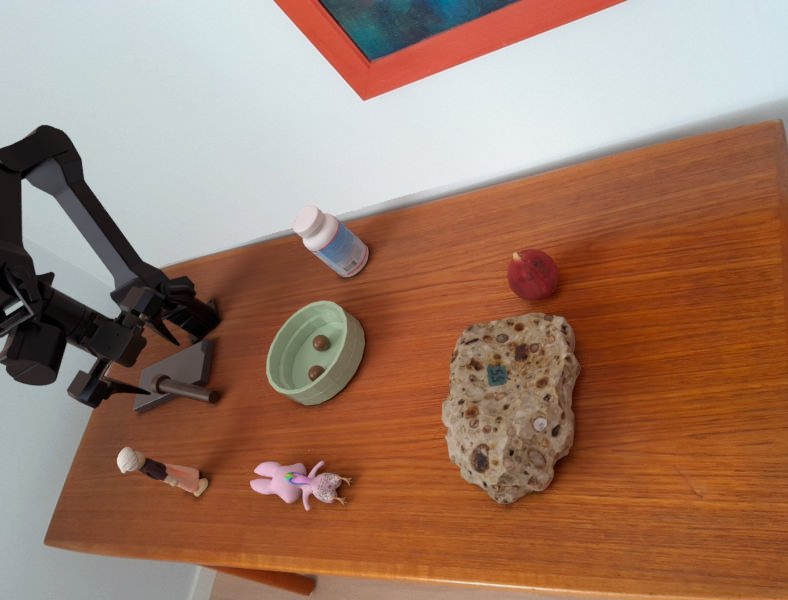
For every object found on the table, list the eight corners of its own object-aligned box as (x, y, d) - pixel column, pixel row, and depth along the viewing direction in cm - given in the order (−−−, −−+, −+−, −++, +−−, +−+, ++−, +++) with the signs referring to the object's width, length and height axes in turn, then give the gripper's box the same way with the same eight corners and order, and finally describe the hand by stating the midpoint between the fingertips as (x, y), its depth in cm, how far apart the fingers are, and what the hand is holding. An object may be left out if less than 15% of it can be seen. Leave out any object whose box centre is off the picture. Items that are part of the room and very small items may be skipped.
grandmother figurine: (217, 474, 94) (141, 444, 85) (205, 501, 93) (127, 473, 84) (186, 467, 99) (111, 437, 90) (174, 492, 98) (97, 465, 88)
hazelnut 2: (308, 369, 92) (305, 364, 90) (325, 366, 92) (323, 361, 90) (310, 386, 91) (307, 381, 89) (328, 383, 91) (325, 378, 89)
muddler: (147, 389, 106) (202, 403, 100) (155, 371, 107) (211, 383, 101) (161, 396, 108) (216, 409, 103) (170, 378, 109) (225, 390, 103)
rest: (149, 373, 117) (141, 369, 116) (214, 342, 111) (207, 338, 110) (140, 413, 112) (132, 410, 111) (207, 383, 106) (200, 379, 105)
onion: (576, 275, 78) (549, 236, 72) (555, 317, 76) (525, 281, 70) (536, 267, 81) (507, 229, 76) (515, 307, 80) (484, 272, 74)
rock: (470, 352, 82) (446, 302, 74) (589, 345, 77) (577, 290, 70) (448, 513, 70) (418, 472, 62) (587, 515, 65) (573, 472, 58)
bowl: (279, 359, 99) (257, 345, 96) (349, 298, 97) (329, 282, 94) (302, 426, 90) (279, 414, 87) (380, 361, 88) (359, 345, 85)
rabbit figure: (362, 470, 82) (268, 457, 89) (338, 455, 78) (240, 442, 84) (348, 520, 80) (252, 503, 86) (322, 508, 75) (222, 491, 81)
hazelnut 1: (308, 340, 94) (309, 344, 92) (321, 329, 94) (323, 333, 92) (319, 352, 95) (320, 357, 92) (332, 341, 95) (334, 346, 93)
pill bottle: (373, 240, 101) (325, 195, 93) (367, 273, 98) (317, 229, 90) (342, 250, 104) (293, 207, 96) (335, 282, 101) (284, 241, 93)
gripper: (54, 394, 84) (156, 437, 96) (133, 270, 89) (222, 325, 100) (24, 376, 91) (123, 418, 103) (99, 262, 96) (185, 314, 107)
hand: (164, 369), depth 103 cm, fingers open, 8 cm apart
